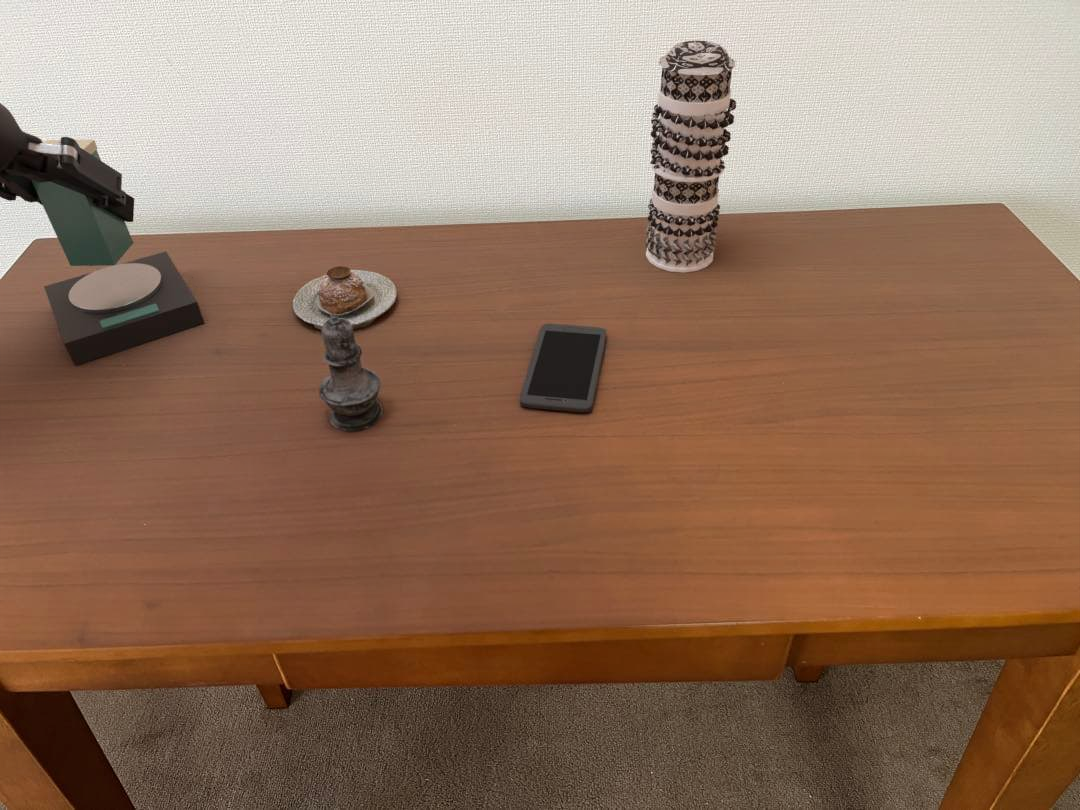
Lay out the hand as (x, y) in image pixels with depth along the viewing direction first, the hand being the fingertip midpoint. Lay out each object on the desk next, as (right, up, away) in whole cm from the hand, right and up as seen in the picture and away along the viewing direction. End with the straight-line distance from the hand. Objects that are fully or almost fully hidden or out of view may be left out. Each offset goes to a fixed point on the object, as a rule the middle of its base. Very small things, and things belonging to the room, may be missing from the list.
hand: (105, 210), depth 92 cm
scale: (+1, -11, +4) cm, 12 cm away
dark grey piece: (+31, -23, -11) cm, 40 cm away
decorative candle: (+66, -3, +11) cm, 67 cm away
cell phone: (+52, -18, -6) cm, 55 cm away
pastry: (+26, -10, +4) cm, 29 cm away
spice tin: (0, -5, -1) cm, 5 cm away
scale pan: (0, -9, +2) cm, 9 cm away
